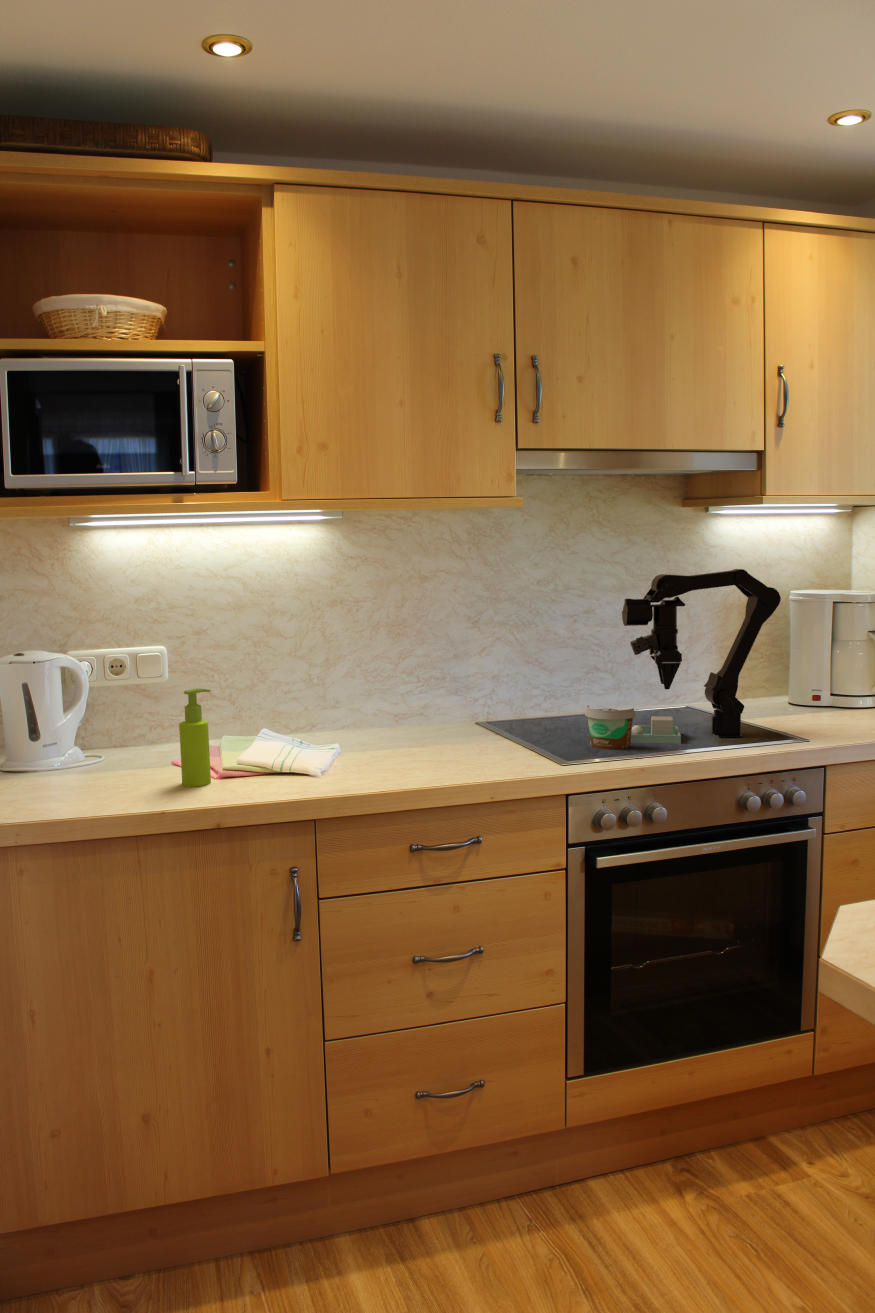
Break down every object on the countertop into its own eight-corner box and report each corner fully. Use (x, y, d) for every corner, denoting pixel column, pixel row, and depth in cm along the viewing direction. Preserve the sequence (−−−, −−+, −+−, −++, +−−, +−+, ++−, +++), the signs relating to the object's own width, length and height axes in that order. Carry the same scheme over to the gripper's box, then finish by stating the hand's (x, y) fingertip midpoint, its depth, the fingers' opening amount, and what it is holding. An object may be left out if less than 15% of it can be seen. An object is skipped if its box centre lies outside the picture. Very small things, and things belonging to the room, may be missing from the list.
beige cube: (671, 736, 234) (671, 716, 233) (672, 740, 229) (673, 720, 228) (651, 735, 234) (651, 716, 234) (651, 740, 230) (652, 720, 229)
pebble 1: (642, 735, 236) (642, 724, 235) (642, 737, 233) (642, 726, 233) (631, 734, 236) (631, 724, 236) (631, 737, 233) (631, 726, 233)
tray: (677, 735, 237) (677, 726, 237) (680, 746, 225) (680, 735, 225) (624, 735, 239) (624, 725, 239) (624, 744, 227) (625, 734, 227)
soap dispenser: (220, 781, 198) (216, 688, 196) (192, 788, 193) (187, 692, 191) (204, 777, 202) (200, 686, 200) (176, 784, 197) (171, 690, 194)
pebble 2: (643, 738, 232) (643, 727, 231) (643, 740, 229) (643, 729, 229) (631, 738, 232) (631, 727, 232) (631, 740, 230) (631, 729, 229)
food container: (577, 750, 222) (577, 708, 221) (586, 745, 228) (586, 704, 227) (628, 754, 217) (628, 712, 216) (635, 749, 222) (635, 708, 221)
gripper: (629, 622, 243) (629, 681, 245) (634, 628, 225) (635, 692, 227) (673, 621, 242) (673, 681, 243) (682, 627, 223) (682, 692, 225)
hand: (665, 686), depth 235 cm, fingers open, 9 cm apart
